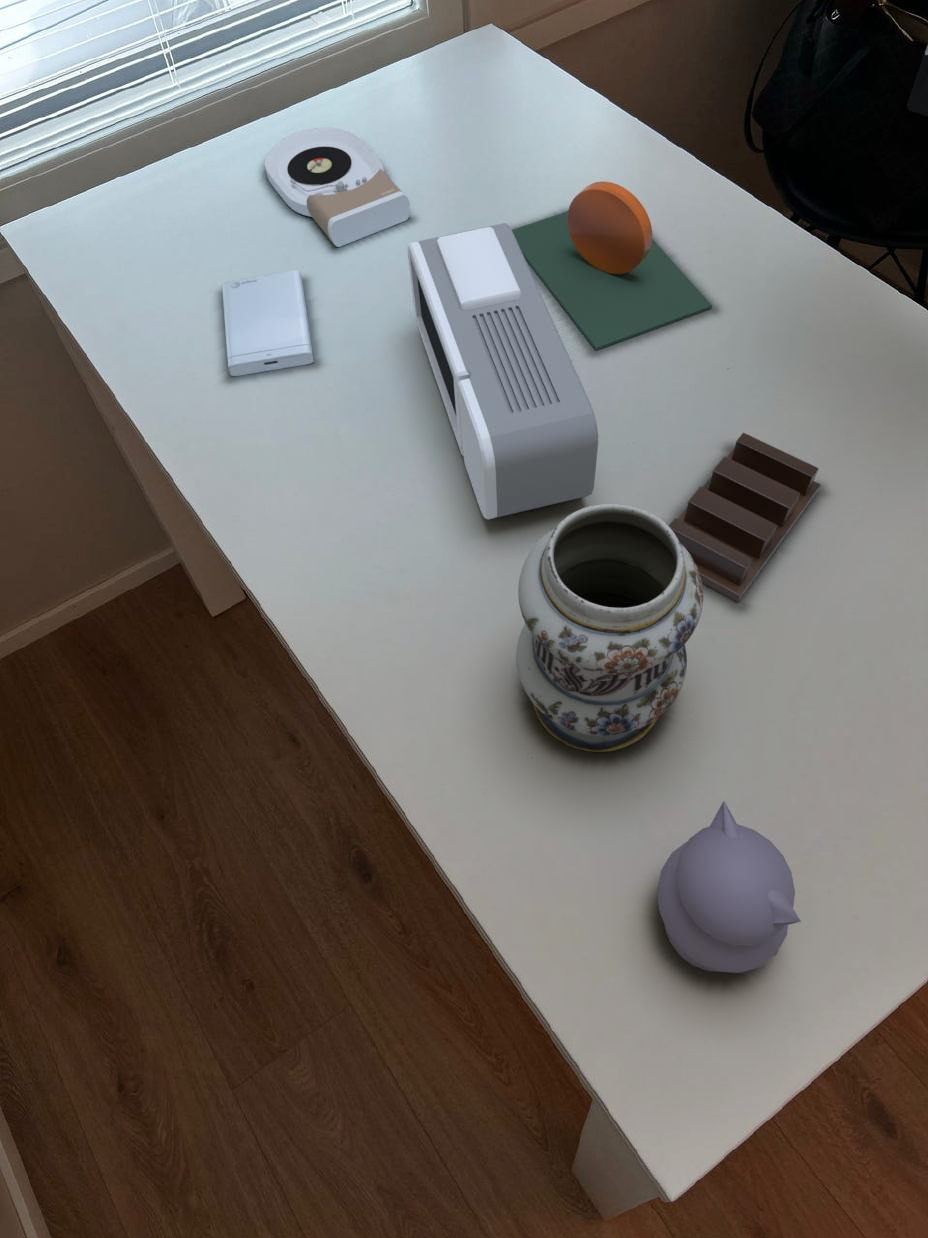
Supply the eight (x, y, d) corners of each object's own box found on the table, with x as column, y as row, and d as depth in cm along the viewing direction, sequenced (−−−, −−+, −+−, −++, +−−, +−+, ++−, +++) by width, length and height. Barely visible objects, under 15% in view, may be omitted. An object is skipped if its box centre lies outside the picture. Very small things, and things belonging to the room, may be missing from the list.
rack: (734, 451, 86) (742, 423, 83) (818, 491, 83) (829, 464, 80) (651, 556, 80) (656, 530, 77) (737, 602, 77) (746, 578, 74)
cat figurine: (626, 890, 66) (645, 829, 56) (724, 841, 67) (760, 773, 57) (694, 1010, 61) (728, 968, 51) (797, 955, 63) (850, 904, 53)
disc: (573, 247, 101) (577, 167, 93) (647, 279, 98) (658, 199, 90) (565, 254, 100) (569, 175, 93) (639, 287, 97) (649, 208, 90)
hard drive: (220, 281, 99) (226, 364, 93) (299, 268, 100) (311, 350, 93) (225, 294, 101) (231, 377, 94) (302, 281, 101) (314, 363, 94)
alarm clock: (416, 328, 96) (403, 224, 86) (505, 308, 97) (504, 203, 87) (487, 539, 82) (483, 444, 72) (592, 514, 83) (601, 417, 73)
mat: (711, 308, 96) (712, 305, 95) (595, 350, 93) (596, 347, 93) (613, 198, 106) (613, 195, 105) (506, 234, 103) (506, 231, 103)
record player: (319, 227, 101) (246, 136, 110) (324, 252, 103) (252, 162, 113) (417, 188, 103) (337, 103, 113) (420, 214, 106) (341, 129, 116)
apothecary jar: (664, 623, 77) (699, 475, 62) (686, 763, 70) (731, 636, 55) (513, 629, 77) (510, 484, 62) (520, 770, 71) (520, 646, 56)
